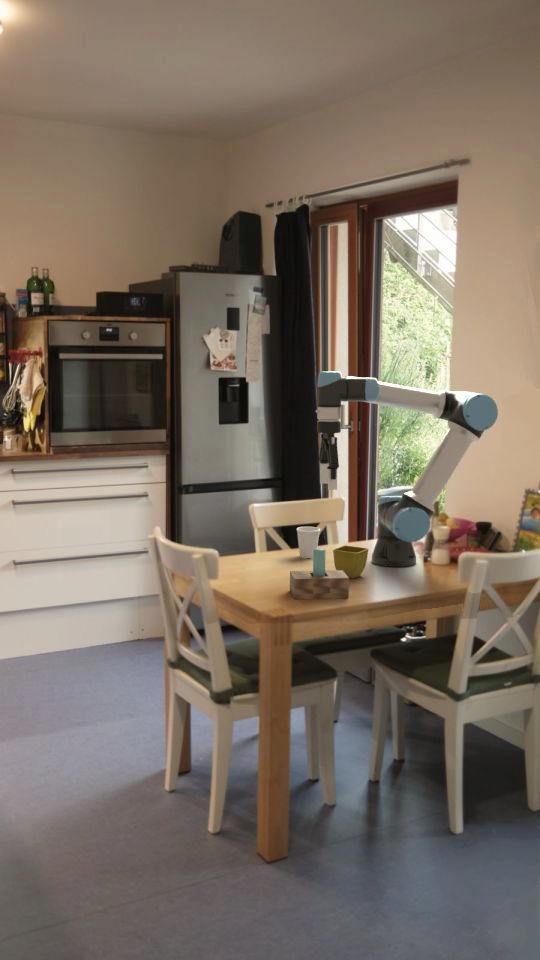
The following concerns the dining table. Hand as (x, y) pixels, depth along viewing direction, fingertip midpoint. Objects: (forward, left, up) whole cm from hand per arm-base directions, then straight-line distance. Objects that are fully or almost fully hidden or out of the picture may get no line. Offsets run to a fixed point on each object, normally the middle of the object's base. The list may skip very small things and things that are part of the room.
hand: (328, 486), depth 314 cm
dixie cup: (+2, -25, -29) cm, 38 cm away
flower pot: (-7, +5, -29) cm, 30 cm away
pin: (+7, +27, -27) cm, 39 cm away
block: (+7, +27, -29) cm, 40 cm away
